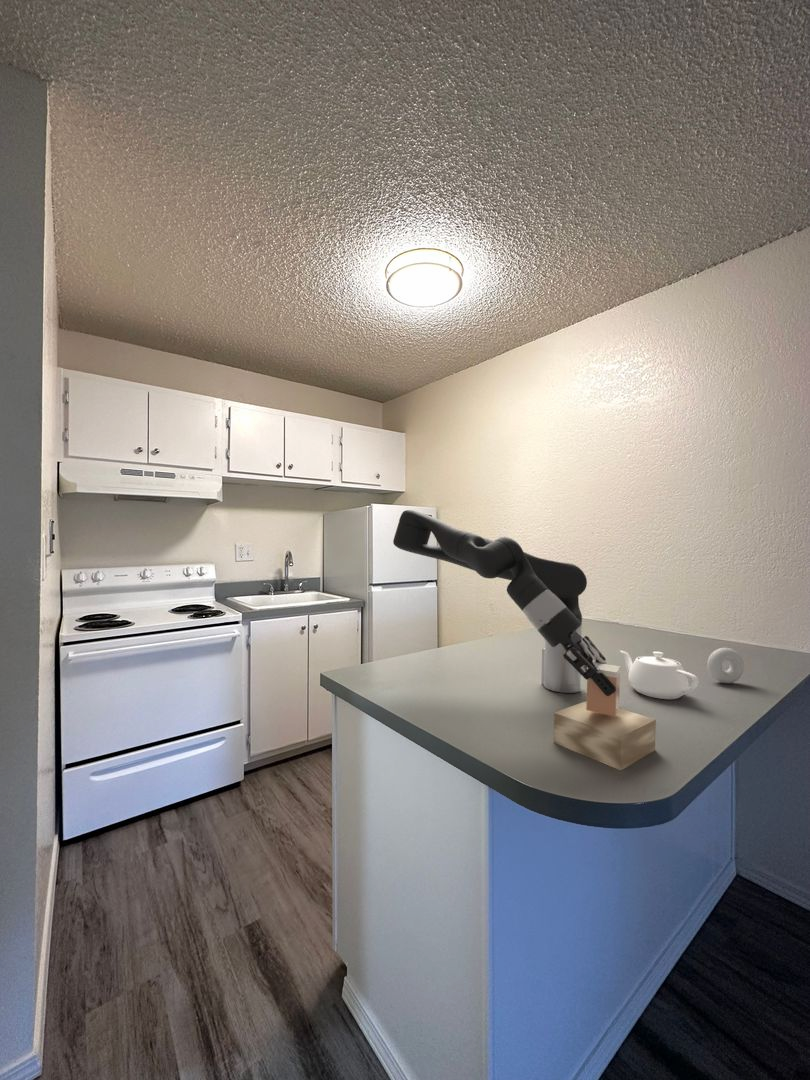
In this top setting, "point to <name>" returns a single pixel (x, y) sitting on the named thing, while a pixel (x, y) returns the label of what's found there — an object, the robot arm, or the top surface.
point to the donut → (734, 669)
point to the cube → (597, 698)
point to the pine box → (605, 734)
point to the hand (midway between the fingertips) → (614, 688)
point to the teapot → (658, 676)
